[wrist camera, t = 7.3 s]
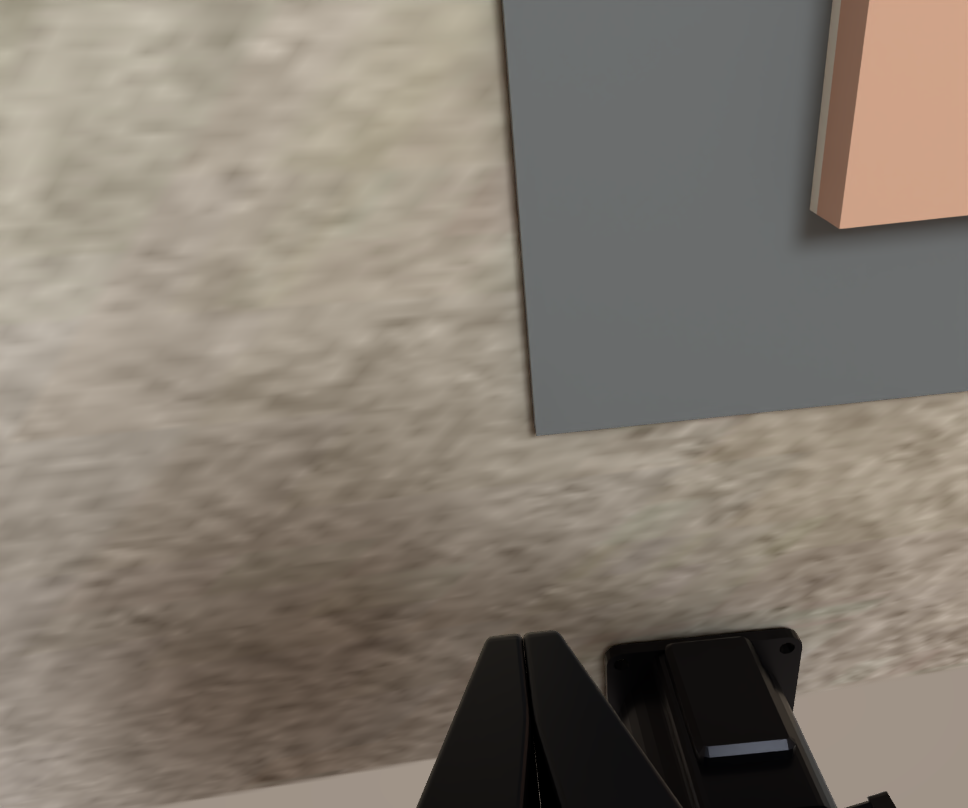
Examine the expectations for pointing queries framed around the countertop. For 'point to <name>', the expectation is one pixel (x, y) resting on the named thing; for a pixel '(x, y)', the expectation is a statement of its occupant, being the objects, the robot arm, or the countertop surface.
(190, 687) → the countertop surface
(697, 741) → the robot arm
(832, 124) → the tile
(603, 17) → the mat
